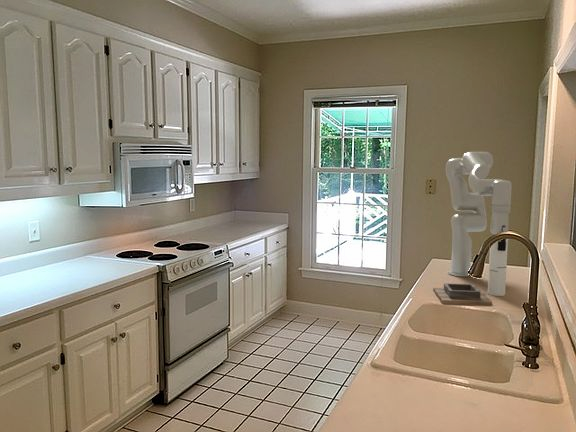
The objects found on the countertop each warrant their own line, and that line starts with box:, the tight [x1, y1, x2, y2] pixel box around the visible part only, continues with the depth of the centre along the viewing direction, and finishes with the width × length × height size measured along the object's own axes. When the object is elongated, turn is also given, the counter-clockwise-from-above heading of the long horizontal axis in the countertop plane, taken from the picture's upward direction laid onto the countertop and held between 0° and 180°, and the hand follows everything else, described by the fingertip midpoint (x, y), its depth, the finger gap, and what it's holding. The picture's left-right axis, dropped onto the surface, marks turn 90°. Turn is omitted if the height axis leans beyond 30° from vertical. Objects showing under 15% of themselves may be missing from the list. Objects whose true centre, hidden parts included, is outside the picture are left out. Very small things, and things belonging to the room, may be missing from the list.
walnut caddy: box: [432, 283, 493, 306], centre depth 214 cm, size 20×20×4 cm
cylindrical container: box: [487, 238, 509, 297], centre depth 219 cm, size 7×7×25 cm
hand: (498, 248), depth 218 cm, fingers closed on cylindrical container, 7 cm apart
